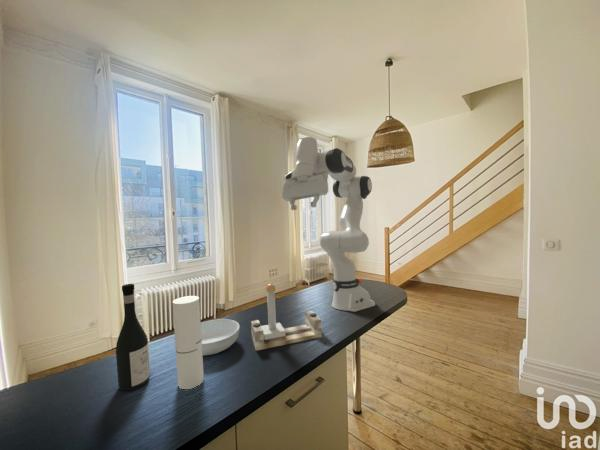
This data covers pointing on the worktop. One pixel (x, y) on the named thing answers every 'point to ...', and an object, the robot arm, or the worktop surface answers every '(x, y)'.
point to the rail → (288, 333)
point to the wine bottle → (131, 347)
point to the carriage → (272, 317)
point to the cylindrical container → (188, 341)
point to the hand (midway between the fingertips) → (303, 208)
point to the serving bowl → (218, 335)
